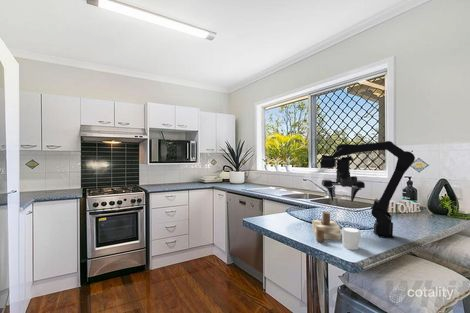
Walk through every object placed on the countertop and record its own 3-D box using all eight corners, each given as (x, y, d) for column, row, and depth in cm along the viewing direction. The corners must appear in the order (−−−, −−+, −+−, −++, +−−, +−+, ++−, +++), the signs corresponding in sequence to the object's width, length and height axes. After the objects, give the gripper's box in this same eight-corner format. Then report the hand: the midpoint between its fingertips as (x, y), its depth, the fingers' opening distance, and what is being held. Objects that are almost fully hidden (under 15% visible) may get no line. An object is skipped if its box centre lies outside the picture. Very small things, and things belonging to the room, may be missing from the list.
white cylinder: (354, 252, 92) (355, 234, 91) (337, 245, 97) (338, 228, 97) (363, 247, 96) (364, 230, 95) (346, 242, 101) (347, 225, 101)
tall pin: (328, 233, 110) (328, 212, 110) (329, 235, 108) (330, 213, 107) (322, 233, 111) (322, 211, 110) (323, 235, 108) (323, 213, 108)
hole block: (334, 231, 114) (334, 220, 113) (340, 239, 104) (340, 228, 103) (312, 230, 115) (312, 219, 115) (316, 238, 105) (316, 226, 105)
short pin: (322, 240, 103) (322, 228, 103) (323, 242, 100) (324, 230, 100) (316, 239, 103) (316, 228, 103) (317, 242, 101) (317, 230, 101)
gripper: (326, 170, 112) (325, 204, 112) (370, 171, 109) (368, 206, 110) (321, 168, 123) (320, 198, 123) (361, 169, 120) (359, 200, 121)
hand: (341, 201), depth 119 cm, fingers open, 9 cm apart
